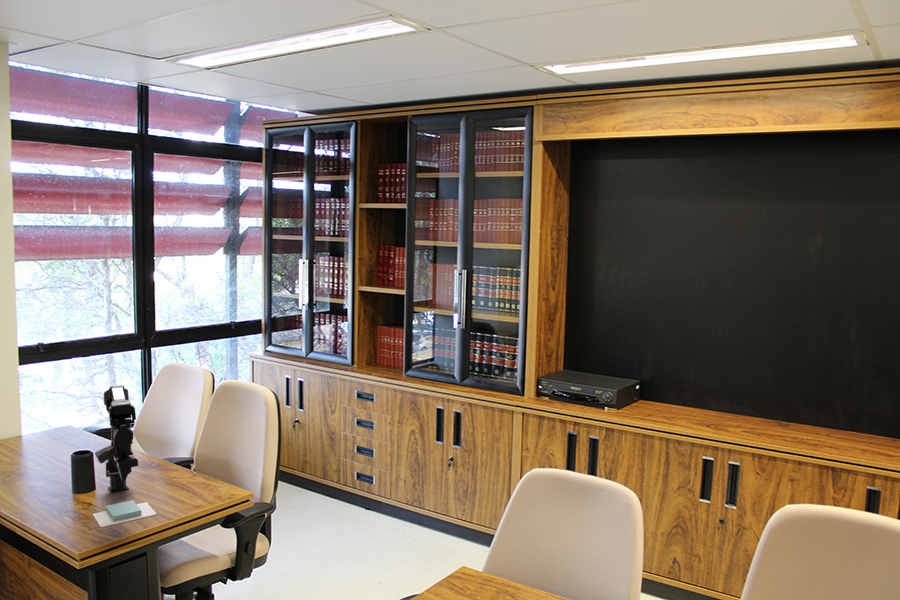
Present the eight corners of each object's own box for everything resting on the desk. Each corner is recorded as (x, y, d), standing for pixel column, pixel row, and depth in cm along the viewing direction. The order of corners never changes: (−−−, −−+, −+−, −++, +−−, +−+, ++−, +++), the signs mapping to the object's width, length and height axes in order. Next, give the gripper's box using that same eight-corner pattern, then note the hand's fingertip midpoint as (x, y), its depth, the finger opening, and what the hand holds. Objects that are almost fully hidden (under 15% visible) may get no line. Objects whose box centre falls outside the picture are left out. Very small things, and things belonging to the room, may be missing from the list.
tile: (106, 505, 239) (113, 516, 229) (133, 500, 244) (141, 510, 235) (106, 510, 239) (113, 521, 230) (133, 504, 244) (141, 514, 235)
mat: (92, 514, 236) (92, 513, 236) (146, 502, 247) (146, 502, 247) (100, 527, 225) (100, 526, 225) (156, 514, 236) (156, 514, 236)
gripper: (91, 435, 236) (92, 478, 238) (102, 448, 222) (103, 493, 223) (125, 430, 243) (126, 471, 244) (138, 442, 229) (139, 486, 230)
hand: (123, 480), depth 235 cm, fingers closed
